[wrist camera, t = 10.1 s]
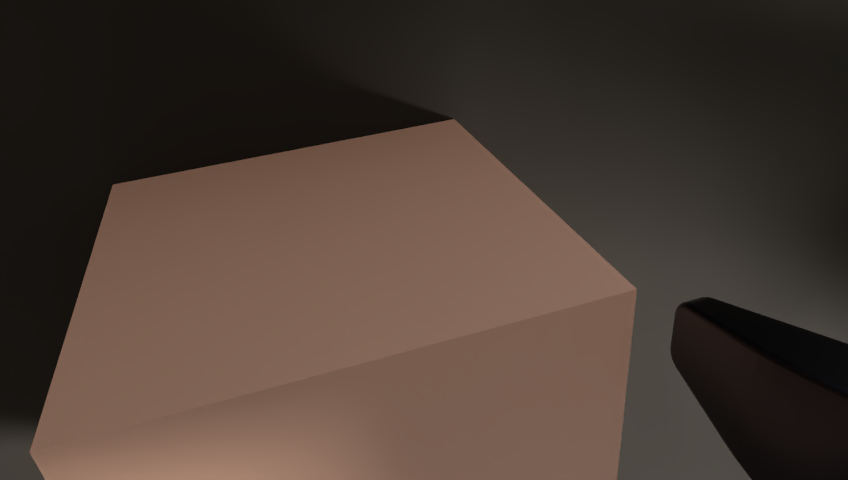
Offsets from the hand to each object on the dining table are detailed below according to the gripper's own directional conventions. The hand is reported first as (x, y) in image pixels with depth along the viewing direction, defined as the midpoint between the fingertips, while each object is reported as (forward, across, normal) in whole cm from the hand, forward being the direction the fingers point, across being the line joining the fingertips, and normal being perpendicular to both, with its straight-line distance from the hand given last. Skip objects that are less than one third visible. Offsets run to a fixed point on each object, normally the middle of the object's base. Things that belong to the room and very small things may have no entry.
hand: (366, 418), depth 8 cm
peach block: (+3, 0, 0) cm, 3 cm away
